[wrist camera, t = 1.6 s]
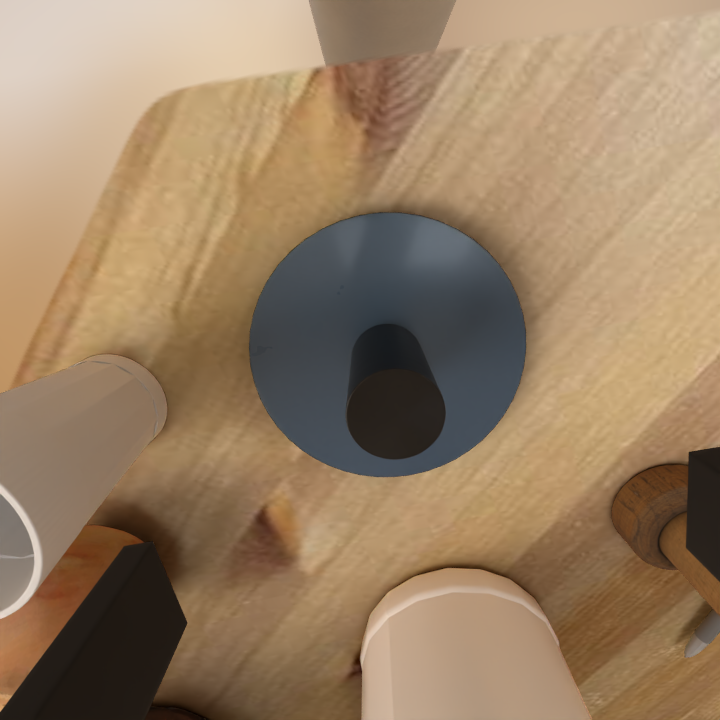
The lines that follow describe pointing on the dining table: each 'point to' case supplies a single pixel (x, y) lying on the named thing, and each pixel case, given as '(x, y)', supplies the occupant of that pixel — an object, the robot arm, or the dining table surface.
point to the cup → (66, 460)
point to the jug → (170, 714)
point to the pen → (703, 634)
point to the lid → (387, 344)
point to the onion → (55, 603)
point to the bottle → (464, 653)
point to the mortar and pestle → (662, 525)
